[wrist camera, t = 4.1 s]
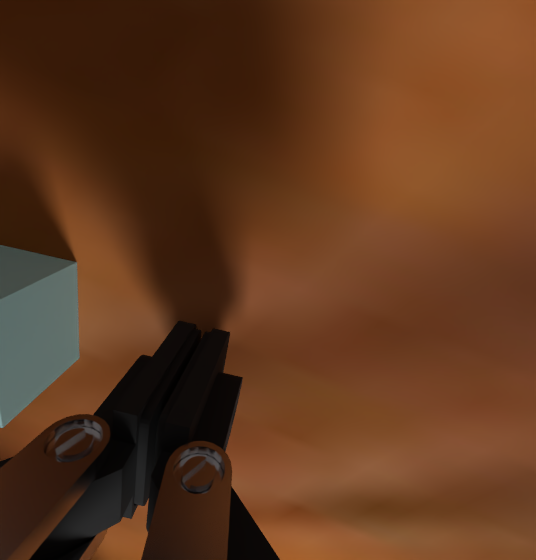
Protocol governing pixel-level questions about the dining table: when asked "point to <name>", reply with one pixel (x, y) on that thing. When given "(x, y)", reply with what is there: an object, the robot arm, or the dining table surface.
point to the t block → (34, 325)
